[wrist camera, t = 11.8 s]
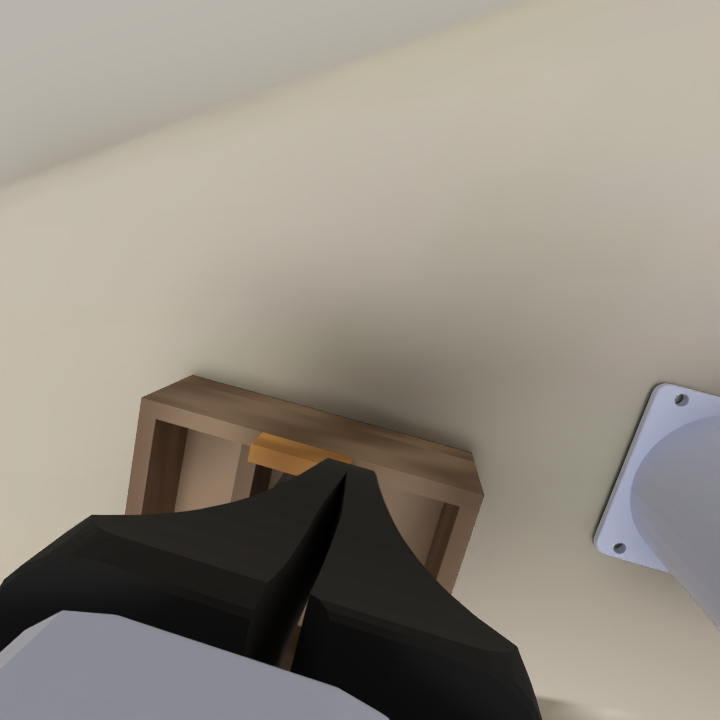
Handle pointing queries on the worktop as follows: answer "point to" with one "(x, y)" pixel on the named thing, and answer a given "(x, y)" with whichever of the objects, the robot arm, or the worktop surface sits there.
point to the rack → (296, 465)
